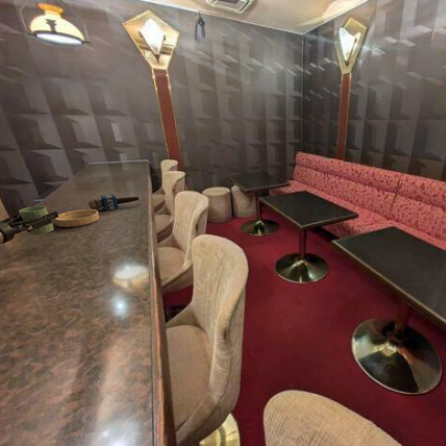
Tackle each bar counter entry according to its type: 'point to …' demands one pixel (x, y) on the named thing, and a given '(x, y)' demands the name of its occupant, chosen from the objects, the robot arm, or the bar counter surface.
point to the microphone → (110, 202)
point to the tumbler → (36, 213)
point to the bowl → (77, 218)
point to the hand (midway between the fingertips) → (45, 214)
